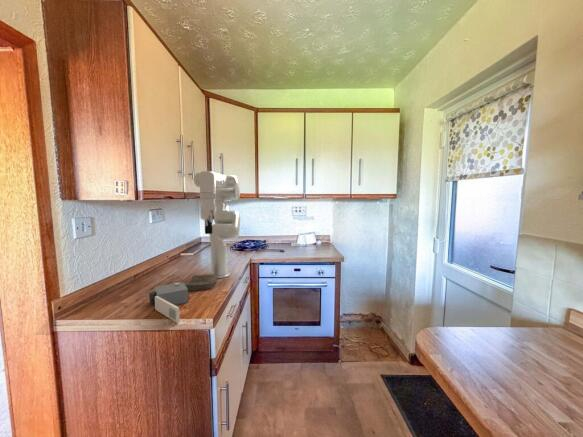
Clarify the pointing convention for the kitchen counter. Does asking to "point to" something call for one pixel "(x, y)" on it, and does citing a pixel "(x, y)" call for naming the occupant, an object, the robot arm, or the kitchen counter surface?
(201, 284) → the marble piece
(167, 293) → the camera housing
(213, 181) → the robot arm
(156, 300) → the side door
